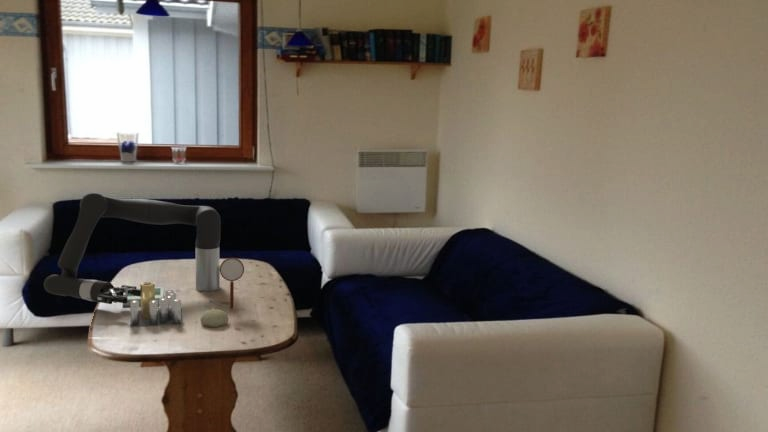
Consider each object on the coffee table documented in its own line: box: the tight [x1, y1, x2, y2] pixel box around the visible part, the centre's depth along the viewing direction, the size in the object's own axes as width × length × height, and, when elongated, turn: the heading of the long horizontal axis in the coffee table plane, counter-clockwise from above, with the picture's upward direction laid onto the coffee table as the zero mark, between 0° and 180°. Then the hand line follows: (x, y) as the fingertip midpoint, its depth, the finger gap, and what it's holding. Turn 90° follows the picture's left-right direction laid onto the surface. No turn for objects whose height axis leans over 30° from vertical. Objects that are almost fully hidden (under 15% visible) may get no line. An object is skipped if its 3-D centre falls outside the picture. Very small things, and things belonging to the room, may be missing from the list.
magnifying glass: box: [219, 257, 245, 312], centre depth 253 cm, size 9×2×20 cm, turn 102°
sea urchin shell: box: [200, 308, 229, 328], centre depth 240 cm, size 9×8×8 cm
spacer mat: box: [129, 308, 184, 328], centre depth 242 cm, size 17×17×1 cm
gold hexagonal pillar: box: [139, 281, 156, 319], centre depth 241 cm, size 5×4×12 cm
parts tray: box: [122, 286, 164, 307], centre depth 261 cm, size 14×14×3 cm
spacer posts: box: [129, 289, 182, 326], centre depth 240 cm, size 16×14×8 cm
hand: (134, 296), depth 243 cm, fingers open, 8 cm apart
